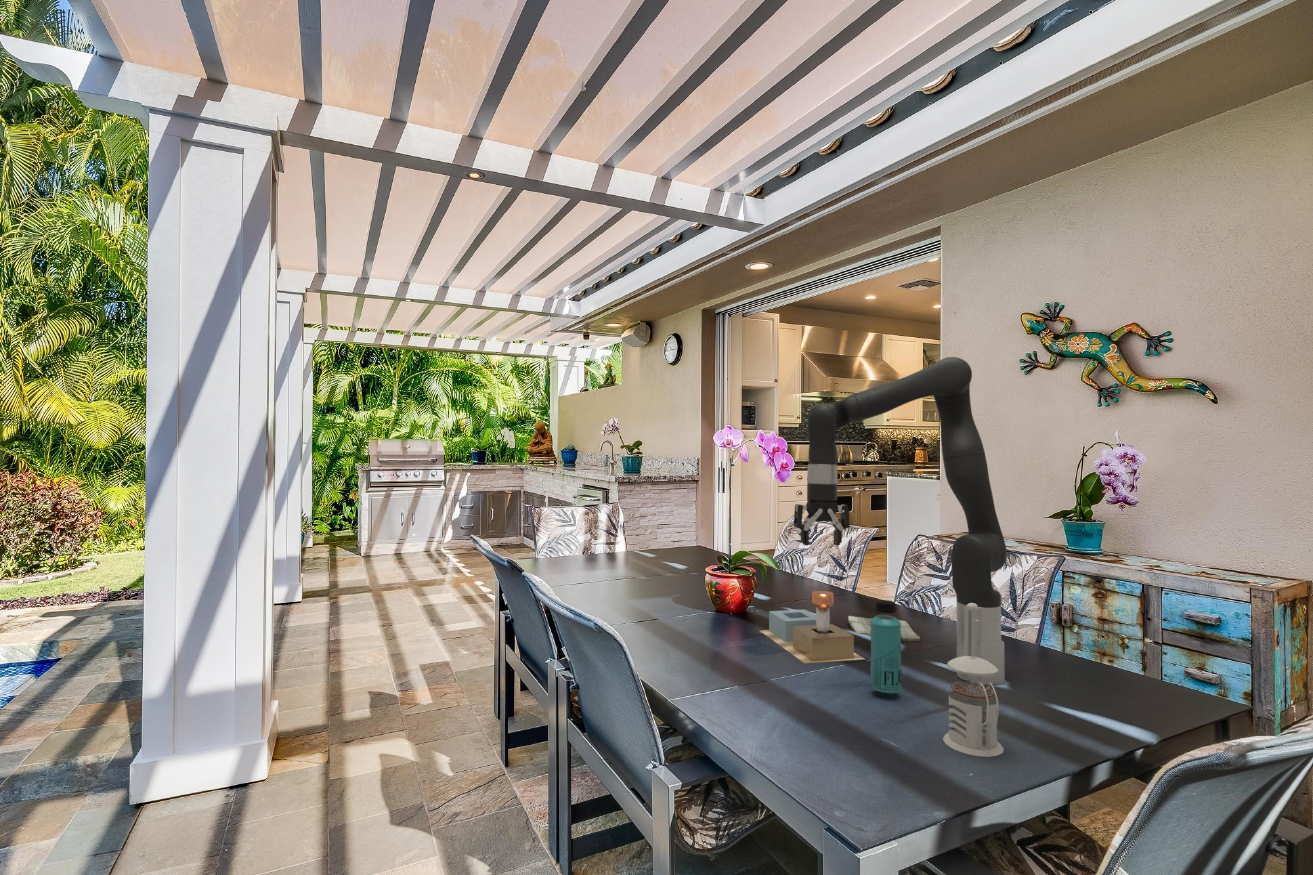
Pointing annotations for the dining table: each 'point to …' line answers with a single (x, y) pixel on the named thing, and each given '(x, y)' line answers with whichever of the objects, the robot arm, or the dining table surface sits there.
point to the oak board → (804, 659)
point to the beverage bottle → (886, 649)
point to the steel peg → (822, 609)
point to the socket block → (789, 622)
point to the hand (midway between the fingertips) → (821, 545)
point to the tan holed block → (823, 643)
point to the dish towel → (865, 627)
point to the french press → (973, 707)
